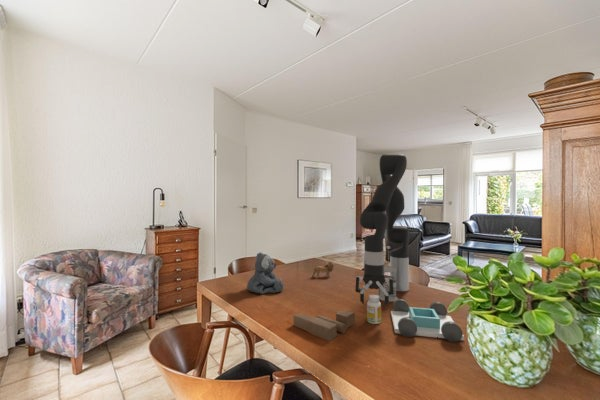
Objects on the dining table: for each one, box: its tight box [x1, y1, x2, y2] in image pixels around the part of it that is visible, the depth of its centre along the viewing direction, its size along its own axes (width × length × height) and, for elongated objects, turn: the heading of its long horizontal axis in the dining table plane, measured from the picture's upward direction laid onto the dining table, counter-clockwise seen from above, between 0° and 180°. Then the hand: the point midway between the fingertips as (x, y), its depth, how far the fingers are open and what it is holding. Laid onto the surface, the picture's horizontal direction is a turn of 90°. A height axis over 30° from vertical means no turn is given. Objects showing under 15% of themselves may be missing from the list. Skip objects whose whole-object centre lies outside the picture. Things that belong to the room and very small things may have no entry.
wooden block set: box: [293, 310, 355, 342], centre depth 102 cm, size 17×6×18 cm
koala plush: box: [246, 252, 284, 295], centre depth 143 cm, size 17×18×20 cm
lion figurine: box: [311, 261, 335, 279], centre depth 166 cm, size 15×5×9 cm, turn 104°
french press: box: [376, 245, 399, 302], centre depth 130 cm, size 10×12×25 cm
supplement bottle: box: [366, 294, 382, 325], centre depth 105 cm, size 5×5×10 cm
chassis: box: [390, 298, 465, 343], centre depth 101 cm, size 20×22×6 cm
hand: (374, 303), depth 105 cm, fingers open, 8 cm apart
